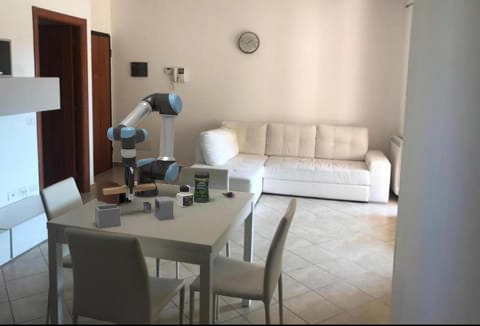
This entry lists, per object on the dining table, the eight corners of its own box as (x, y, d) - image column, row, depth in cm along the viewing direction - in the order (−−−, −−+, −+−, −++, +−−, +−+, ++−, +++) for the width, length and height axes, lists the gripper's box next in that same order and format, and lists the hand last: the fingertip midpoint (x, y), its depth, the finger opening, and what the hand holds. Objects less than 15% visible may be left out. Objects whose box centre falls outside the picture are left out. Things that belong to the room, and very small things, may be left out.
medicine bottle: (182, 207, 267) (183, 187, 265) (176, 205, 272) (176, 185, 270) (193, 205, 272) (193, 186, 269) (186, 203, 277) (186, 183, 275)
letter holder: (118, 206, 266) (118, 183, 264) (96, 200, 278) (96, 177, 275) (131, 203, 274) (131, 180, 272) (110, 197, 286) (109, 175, 283)
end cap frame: (95, 223, 235) (94, 203, 234) (167, 214, 254) (167, 196, 252) (98, 228, 228) (98, 208, 226) (173, 218, 246) (173, 200, 244)
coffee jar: (192, 202, 279) (193, 172, 275) (194, 199, 286) (194, 170, 283) (208, 203, 278) (209, 173, 275) (209, 199, 286) (210, 170, 283)
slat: (102, 193, 245) (102, 188, 245) (153, 187, 259) (153, 183, 258) (104, 194, 242) (104, 190, 242) (155, 189, 255) (155, 185, 255)
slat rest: (107, 215, 249) (107, 206, 248) (148, 210, 260) (148, 201, 259) (109, 217, 245) (109, 208, 244) (151, 212, 256) (151, 204, 255)
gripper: (117, 154, 252) (119, 195, 257) (125, 159, 237) (127, 203, 242) (131, 153, 256) (132, 193, 260) (140, 158, 241) (141, 201, 246)
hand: (129, 198), depth 251 cm, fingers closed on slat, 4 cm apart
